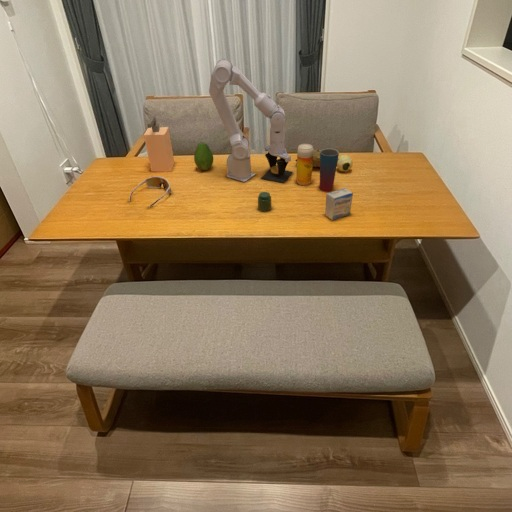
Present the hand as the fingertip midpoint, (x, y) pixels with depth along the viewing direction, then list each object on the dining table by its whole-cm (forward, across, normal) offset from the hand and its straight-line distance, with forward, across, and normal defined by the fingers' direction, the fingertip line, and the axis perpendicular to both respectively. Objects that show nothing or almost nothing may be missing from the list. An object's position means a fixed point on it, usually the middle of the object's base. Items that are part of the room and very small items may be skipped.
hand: (277, 172), depth 159 cm
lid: (-2, 0, 0) cm, 2 cm away
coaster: (+2, 0, 0) cm, 2 cm away
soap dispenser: (+2, +36, +36) cm, 51 cm away
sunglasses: (+2, +16, +48) cm, 51 cm away
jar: (+2, -18, +19) cm, 26 cm away
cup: (+2, -20, -8) cm, 22 cm away
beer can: (+2, -11, -5) cm, 12 cm away
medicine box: (+2, -37, +2) cm, 37 cm away
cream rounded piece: (+2, -13, -25) cm, 28 cm away
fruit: (+2, +24, +21) cm, 32 cm away
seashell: (+2, -2, -17) cm, 18 cm away
